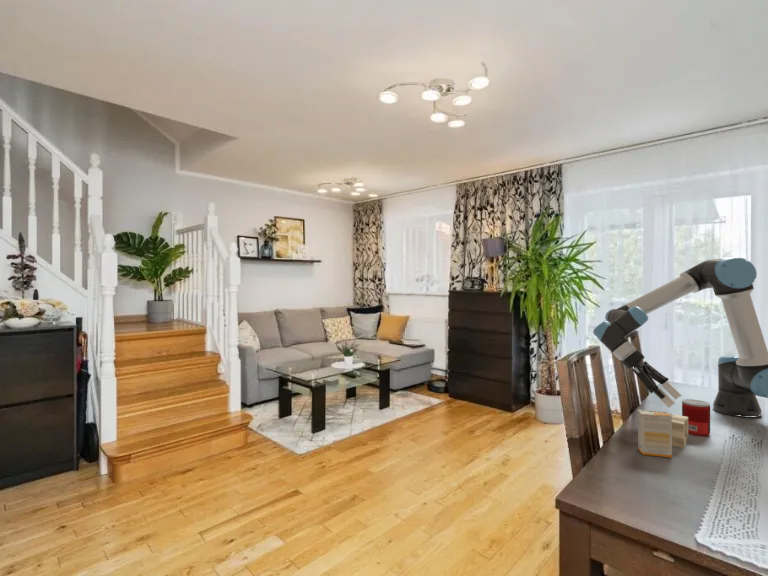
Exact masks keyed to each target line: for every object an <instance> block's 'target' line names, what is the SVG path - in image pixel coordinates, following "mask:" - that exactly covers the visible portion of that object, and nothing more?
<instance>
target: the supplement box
mask: <svg viewBox="0 0 768 576" xmlns="http://www.w3.org/2000/svg"><path fill="white" fill-rule="evenodd" d="M670 414H671V413H669V412H668V411H665V410H664V411H663V410H652V409H637V433H638V435H637V437H638V438H637V442H638V443H637V444H638V445H637V446H638V448H637V449H638V451H639V452H640V453H641V454H643V455H644V456H653V457H665V458H670V459H671V458H673V446H672V416H671V415H670Z"/></svg>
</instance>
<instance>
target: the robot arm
mask: <svg viewBox="0 0 768 576" xmlns="http://www.w3.org/2000/svg"><path fill="white" fill-rule="evenodd" d="M756 269H757V268H756V267H755V266H754V264H753V263H752V262H751V261H749V260H748V259H746V258H744V257H738V256H736V257H735V256H727V257H720V258H719V257H718V258H712V259H711V258H710V259H707V260H704V261H702V262H700V263H698V264H697V265H696V264H695V265H694V266H692V267H690V268H688V269H687V270H685V271H683V272H681V273H680V275H679V277H677V278H675V279H673V280H670V281H669V282H667V283H665V284H663V285H661V286H659V287H657V288H656V289H653V290H651V291H650V292H647V293H646V294H644V295H641V296H640V297H637V298H635V299H634V300H632V301H629V302H627V303H626V304H624V305H622V306H620V307H618V308H613V309H610V310H608V311H607V312H606V313H605V316H604V317H605V318H604V319H605V320H603V321H602V322H601V323H599V324H598V325H597V326H595V327H594V329H593V330H592V331H593V333H592V334H594V336H595V337H596V338H597V339H598V340H599V342H600V343H602V344H603V345H604V346H605V347H606V349H608V350H609V351H610V353H612V354H613V357H614V358H617V359H618V360H619V361H621V363H622V364H623V365H624V366H625V367H626V368H627V369H629V370H630V369H632V368H633V369H632V372H634V375H636V377H638V379H639V380H640V381H641V383H642V384H643V385H644V386H645V388H646V389H647V390H648V392H649V393H650V394H654V395H655V396H656V397H658V399H659V400H660V401H661V402H662V403H664V405H665V406H666V407H667V408H671V406H674V405H675V404H676V402H675V401H674V400H677V399H679V398H681V397H682V396H683V395H682V394H681V392H679V391H678V390H677V388H675V387H674V386H673V385H672V384H671V383H670V382H669V378H668V377H666V376H665V375H663V373H661V372H659V371H658V370H657V369H656V368H654V367H653V366H652V365H650V364H649V363H648V361H644V362H643V360H644V359H645V356H644V355H643V353H642V352H641V351H639V350H637V347H636V346H634V345H633V344H632V343H631V342H630V340H628V339H627V337H628V336H630V334H632V333H634V331H637V329H639V328H640V327H642V326H644V325H645V324H646V322H647V321H649V316H648V314H651V313H652V312H655V311H656V310H659V309H661V308H662V307H665V306H667V305H668V304H671V303H672V302H675V301H676V300H678V299H680V298H682V297H684V296H687V295H688V294H690V293H694V294H697V293H698V292H700V291H703V290H707V289H711V288H712V290H713V292H714V295H715V296H716V297H717V298H720V299H721V302H722V305H723V309H724V313H725V315H726V318H727V322H728V325H729V328H730V331H731V335H732V337H733V341H734V344H735V348H736V351H737V354H738V356H724V355H723V356H720V357H719V358H718V360H717V361H718V362H717V367H718V368H717V370H718V371H717V372H718V374H717V375H718V377H717V378H718V381H717V382H718V383H717V385H718V387H717V388H718V389H717V390H718V391H717V394H716V396H715V398H714V400H713V403H712V408H713V410H714V411H716V412H718V413H721V414H724V415H729V416H733V415H741V416H759V415H761V414H762V407H761V405H760V402H759V400H758V398H757V397H761V398H765V399H768V347H767V345H766V341H765V339H764V335H763V332H762V327H761V325H760V321H759V318H758V315H757V312H756V309H755V306H754V303H753V299H752V295H751V293H752V292H753V291H754V290H755V288H754V284H753V283H754V282H755V280H756V279H757V273H758V272H757V270H756ZM656 382H657V383H659V384H660V385H661V387H662V388H661V387H659V386H658V385H657V383H656ZM663 389H664V390H665V391H666V392H667V393H668V394H667V393H666V392H665V391H664V390H663ZM669 395H670V396H671V397H672V398H673V399H674V400H673V399H672V398H671V397H670V396H669Z"/></svg>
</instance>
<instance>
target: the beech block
mask: <svg viewBox="0 0 768 576" xmlns="http://www.w3.org/2000/svg"><path fill="white" fill-rule="evenodd" d="M669 414H670V415H671V416H672V447H676V448H680V449H685V446H686V445H687V443H688V441H689V434H688V417H686V416H682V415H680V414H675V413H674V414H673V413H669Z"/></svg>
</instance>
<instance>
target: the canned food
mask: <svg viewBox="0 0 768 576" xmlns="http://www.w3.org/2000/svg"><path fill="white" fill-rule="evenodd" d="M681 416H686V417H688V435H692V436H697V437H709V436H710V434H711V404H710V403H709V402H707V401H704V400H699V399H692V398H690V399H688V398H687V399H686V398H685V399H682V401H681Z"/></svg>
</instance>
